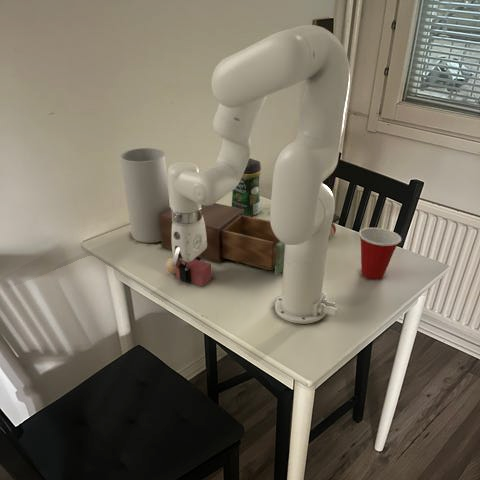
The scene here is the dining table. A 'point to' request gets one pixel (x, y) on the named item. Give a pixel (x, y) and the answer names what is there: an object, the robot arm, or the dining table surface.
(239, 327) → the dining table surface
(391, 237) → the plastic cup
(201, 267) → the pink block on ball
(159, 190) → the cylinder vase
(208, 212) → the cabinet
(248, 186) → the coffee jar
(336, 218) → the figurine character
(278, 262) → the drawer
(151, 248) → the dining table surface
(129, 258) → the dining table surface
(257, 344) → the dining table surface
